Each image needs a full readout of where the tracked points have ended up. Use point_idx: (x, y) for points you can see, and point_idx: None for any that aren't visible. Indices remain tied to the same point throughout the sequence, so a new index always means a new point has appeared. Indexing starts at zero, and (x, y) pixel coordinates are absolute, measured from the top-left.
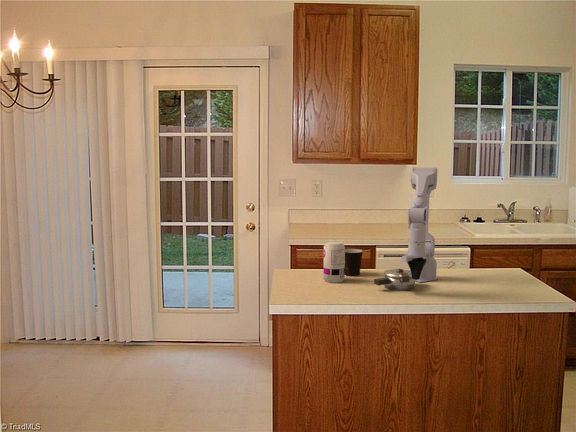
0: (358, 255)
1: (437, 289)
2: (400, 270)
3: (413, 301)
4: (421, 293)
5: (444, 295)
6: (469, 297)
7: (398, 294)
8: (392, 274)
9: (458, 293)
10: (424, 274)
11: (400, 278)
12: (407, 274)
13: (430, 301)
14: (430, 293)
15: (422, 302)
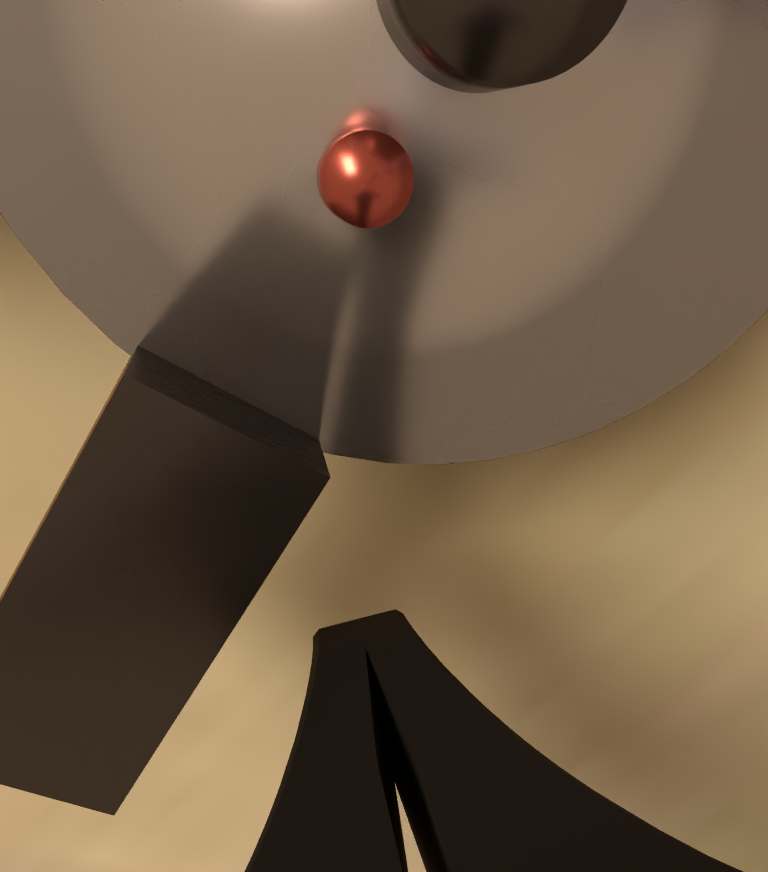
0: None
1: (761, 488)
2: (440, 63)
3: (7, 804)
4: (408, 553)
5: (581, 728)
6: (720, 857)
7: (16, 446)
8: (64, 33)
9: None
10: None
11: (62, 483)
12: (223, 630)
13: (227, 859)
14: (515, 601)
15: (98, 864)
